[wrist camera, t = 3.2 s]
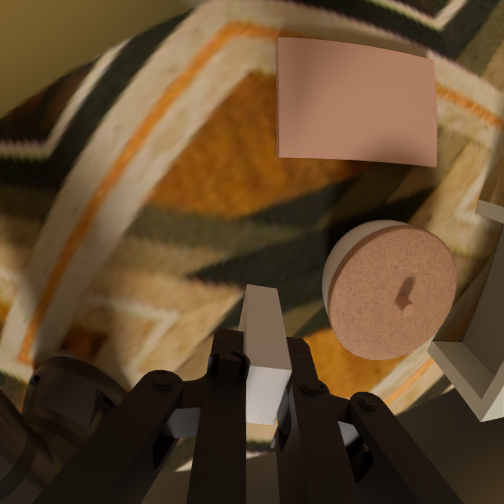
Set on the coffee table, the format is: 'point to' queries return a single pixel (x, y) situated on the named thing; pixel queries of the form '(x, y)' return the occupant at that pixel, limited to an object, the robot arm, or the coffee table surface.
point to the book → (354, 103)
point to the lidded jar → (387, 288)
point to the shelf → (481, 340)
